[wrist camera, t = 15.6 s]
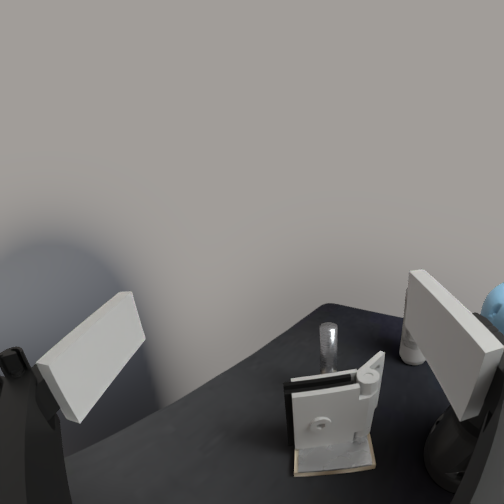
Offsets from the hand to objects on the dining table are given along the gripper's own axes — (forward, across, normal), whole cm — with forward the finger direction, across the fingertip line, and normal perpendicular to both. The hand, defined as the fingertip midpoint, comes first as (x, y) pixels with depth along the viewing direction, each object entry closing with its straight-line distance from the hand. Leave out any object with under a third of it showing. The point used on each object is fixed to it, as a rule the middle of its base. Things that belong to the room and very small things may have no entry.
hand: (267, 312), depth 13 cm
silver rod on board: (+17, +5, -27) cm, 32 cm away
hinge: (+15, +6, -27) cm, 31 cm away
